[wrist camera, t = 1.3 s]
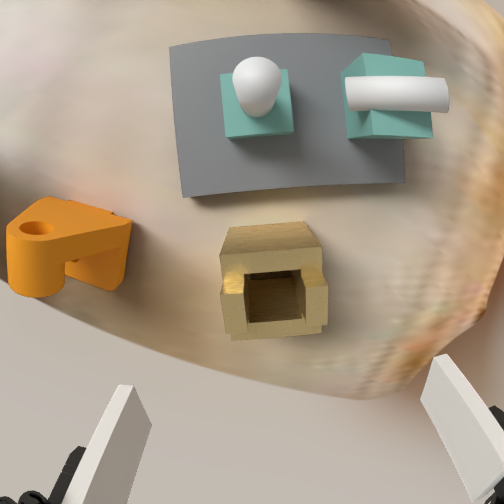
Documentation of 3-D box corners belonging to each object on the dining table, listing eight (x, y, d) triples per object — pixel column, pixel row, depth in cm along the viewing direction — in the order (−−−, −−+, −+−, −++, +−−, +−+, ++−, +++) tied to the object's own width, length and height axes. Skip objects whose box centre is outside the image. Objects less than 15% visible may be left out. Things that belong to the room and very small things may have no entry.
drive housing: (187, 194, 27) (141, 223, 16) (174, 53, 23) (126, -1, 12) (397, 180, 26) (473, 200, 15) (383, 46, 22) (445, 1, 11)
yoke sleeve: (237, 295, 30) (229, 356, 21) (229, 227, 28) (215, 265, 19) (306, 289, 30) (326, 347, 21) (304, 221, 28) (328, 256, 18)
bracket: (49, 255, 29) (-18, 297, 18) (53, 195, 27) (-24, 220, 16) (125, 282, 30) (71, 345, 19) (135, 218, 28) (70, 258, 17)
